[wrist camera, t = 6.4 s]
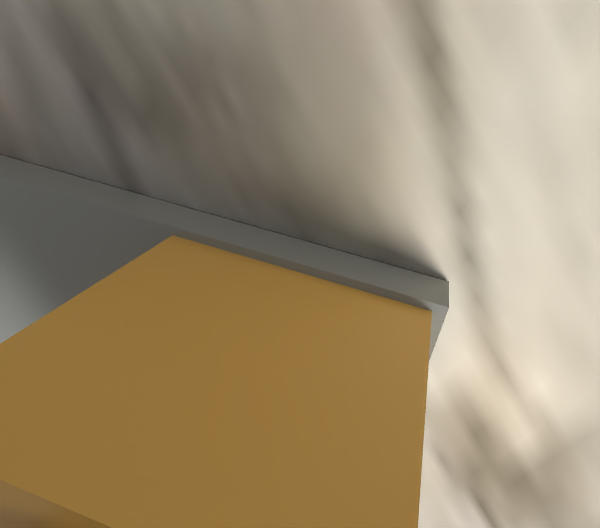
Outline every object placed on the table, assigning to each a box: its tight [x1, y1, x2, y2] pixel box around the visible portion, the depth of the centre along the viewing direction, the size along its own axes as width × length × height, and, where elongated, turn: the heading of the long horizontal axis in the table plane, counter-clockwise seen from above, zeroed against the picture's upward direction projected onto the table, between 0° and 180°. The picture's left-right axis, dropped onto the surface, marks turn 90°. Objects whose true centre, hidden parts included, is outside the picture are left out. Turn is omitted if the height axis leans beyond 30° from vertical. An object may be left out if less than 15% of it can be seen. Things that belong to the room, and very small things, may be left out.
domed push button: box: [0, 235, 432, 528], centre depth 8 cm, size 6×6×7 cm
